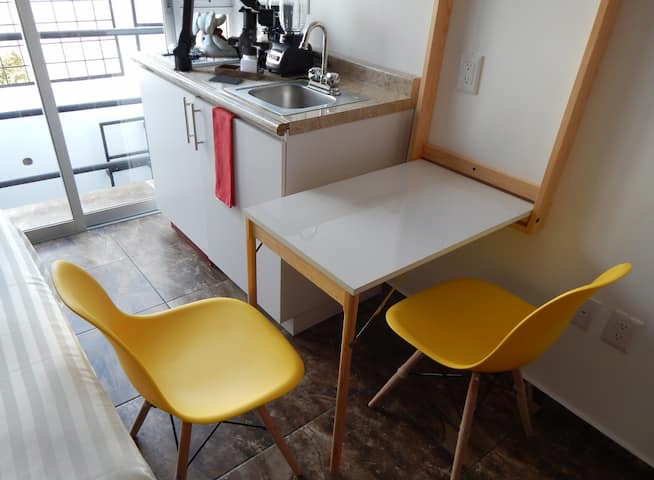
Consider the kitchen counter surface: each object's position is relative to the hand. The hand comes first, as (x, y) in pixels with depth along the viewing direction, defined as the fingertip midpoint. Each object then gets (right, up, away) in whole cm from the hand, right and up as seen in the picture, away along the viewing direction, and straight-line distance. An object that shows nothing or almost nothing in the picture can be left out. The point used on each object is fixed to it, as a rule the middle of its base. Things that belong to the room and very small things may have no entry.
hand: (249, 64), depth 210 cm
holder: (-5, -3, +3) cm, 7 cm away
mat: (-9, -9, -6) cm, 14 cm away
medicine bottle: (0, -4, +3) cm, 5 cm away
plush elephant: (-23, +20, +35) cm, 46 cm away
